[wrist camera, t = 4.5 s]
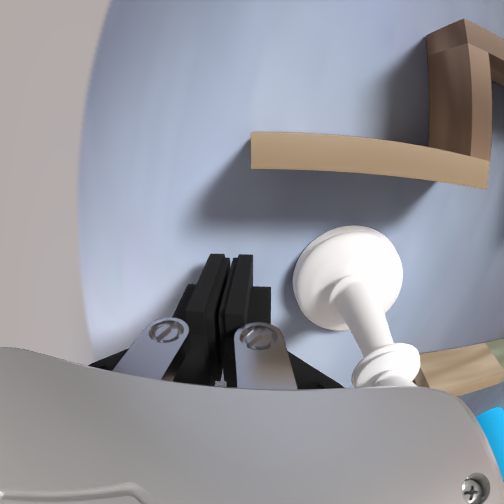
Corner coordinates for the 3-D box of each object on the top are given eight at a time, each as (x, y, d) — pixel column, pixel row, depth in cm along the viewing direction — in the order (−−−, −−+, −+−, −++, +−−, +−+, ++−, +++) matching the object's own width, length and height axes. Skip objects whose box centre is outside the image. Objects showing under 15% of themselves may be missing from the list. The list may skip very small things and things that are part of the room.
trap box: (254, 11, 8) (249, -24, 5) (583, 123, 7) (611, 130, 4) (256, 421, 17) (253, 458, 14) (505, 383, 16) (519, 406, 13)
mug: (514, 400, 17) (541, 453, 10) (476, 443, 21) (493, 492, 13) (436, 423, 18) (462, 498, 10) (398, 464, 21) (410, 527, 13)
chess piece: (315, 337, 14) (340, 542, 5) (273, 253, 12) (272, 523, 3) (407, 298, 13) (501, 479, 3) (383, 206, 11) (563, 398, 2)
